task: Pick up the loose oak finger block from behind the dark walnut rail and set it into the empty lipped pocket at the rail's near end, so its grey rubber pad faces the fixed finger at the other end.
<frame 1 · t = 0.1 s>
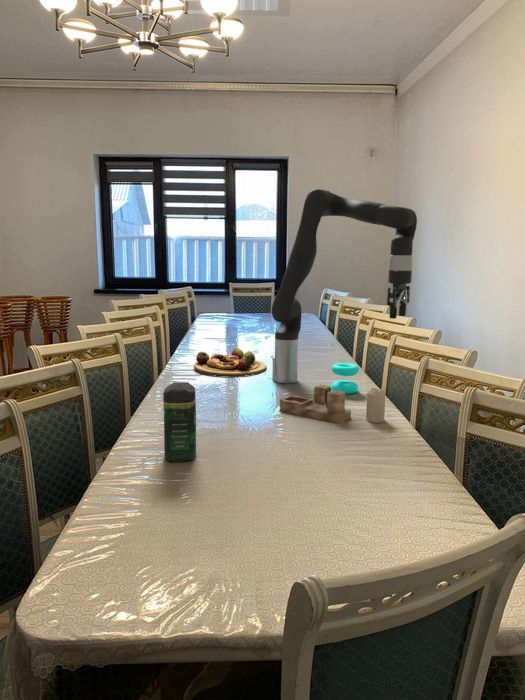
hand: (397, 317, 176), 29 cm above the table, tool pointing down, fingers open, 8 cm apart
coffee jar: (180, 456, 130), on the table
finger: (321, 403, 176), on the table
candle: (375, 420, 159), on the table
rail: (314, 414, 165), on the table
donuts: (344, 391, 192), on the table
wooden plate with food: (230, 370, 229), on the table
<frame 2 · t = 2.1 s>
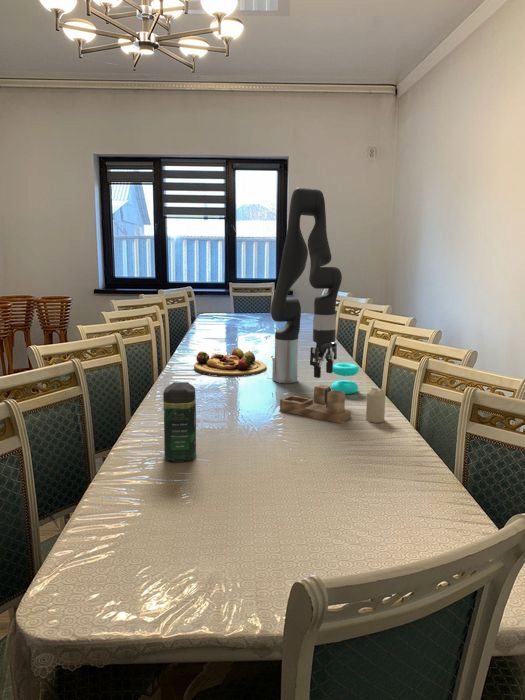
hand: (323, 375, 174), 10 cm above the table, tool pointing down, fingers open, 8 cm apart
nothing on the table moved.
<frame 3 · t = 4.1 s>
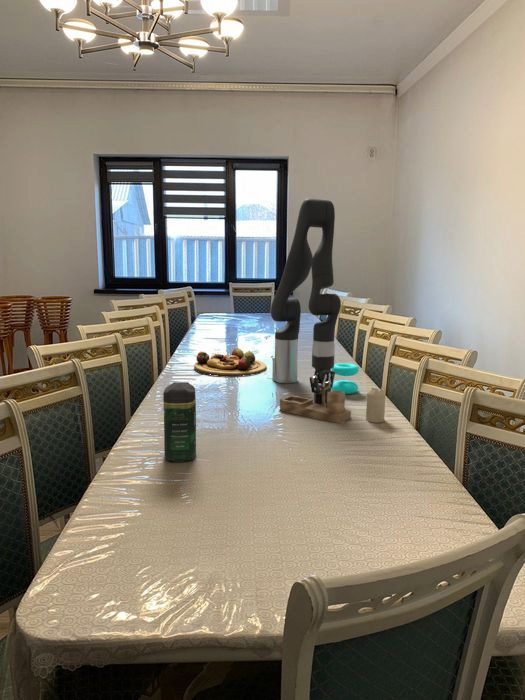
hand: (321, 402, 176), 0 cm above the table, tool pointing down, fingers closed on finger, 4 cm apart
finger: (321, 403, 176), on the table, touching gripper
everything else where it was.
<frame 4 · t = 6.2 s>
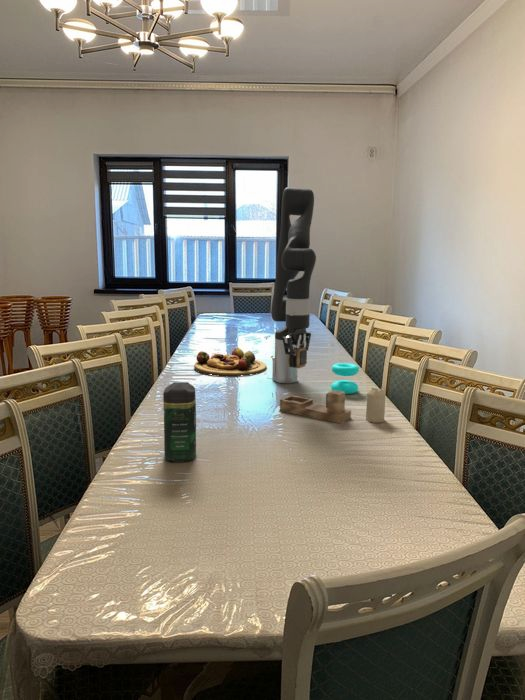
hand: (296, 365, 166), 15 cm above the table, tool pointing down, fingers closed on finger, 4 cm apart
finger: (296, 366, 166), point 15 cm above the table, touching gripper
everything else where it was.
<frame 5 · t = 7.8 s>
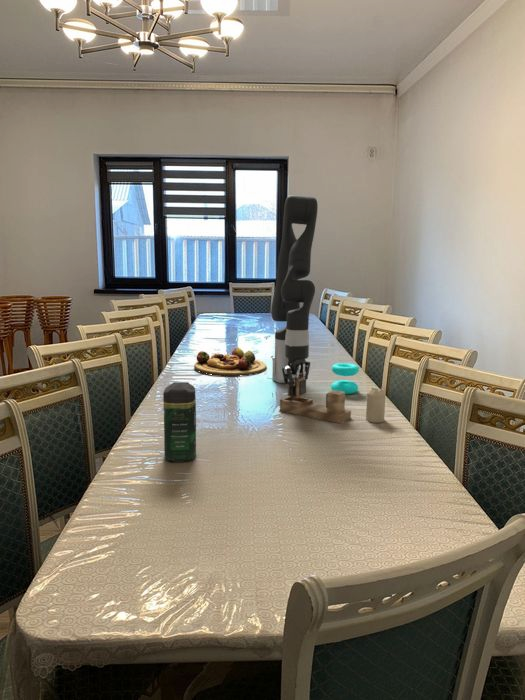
hand: (296, 394, 168), 5 cm above the table, tool pointing down, fingers closed on finger, 4 cm apart
finger: (296, 395, 168), point 5 cm above the table, touching gripper
everything else where it was.
when the fingers open (4 cm above the table, at t = 8.8 s): finger drops 1 cm, resting on rail.
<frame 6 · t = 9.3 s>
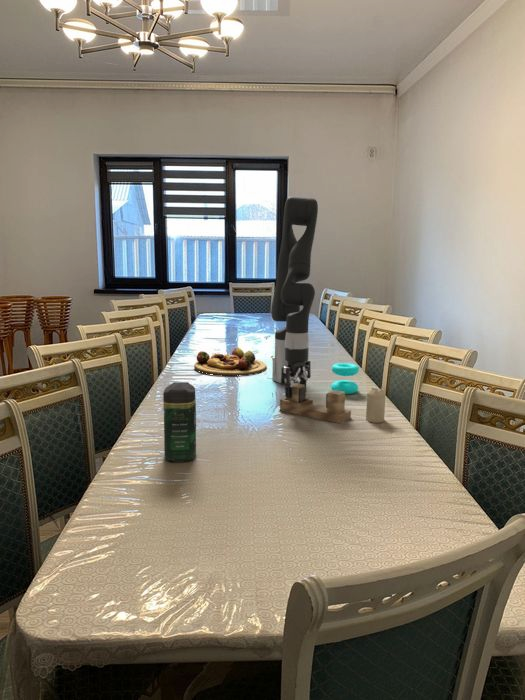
hand: (295, 395, 168), 5 cm above the table, tool pointing down, fingers open, 8 cm apart
finger: (295, 402, 168), point 2 cm above the table, touching rail
everything else where it was.
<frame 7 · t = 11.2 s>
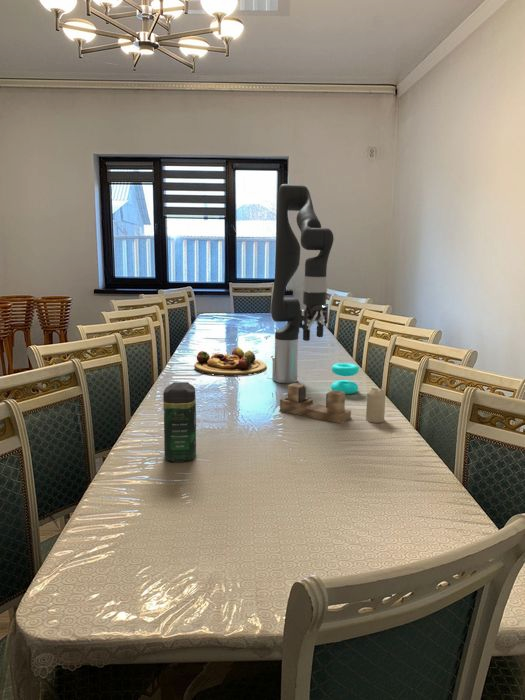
hand: (313, 338, 173), 22 cm above the table, tool pointing down, fingers open, 8 cm apart
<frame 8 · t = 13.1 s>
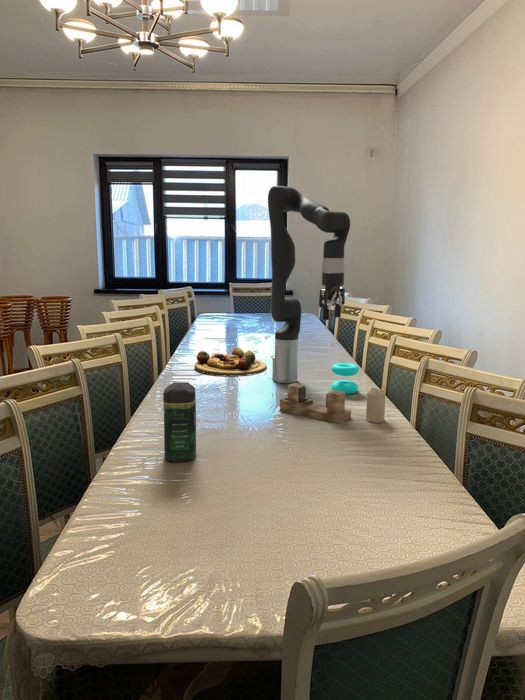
hand: (331, 318, 180), 28 cm above the table, tool pointing down, fingers open, 8 cm apart
at the end: finger 0.4 cm from the target spot on the rail, point 2.4 cm above the rail's base; finger tilted 0°; the gripper is holding nothing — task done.
